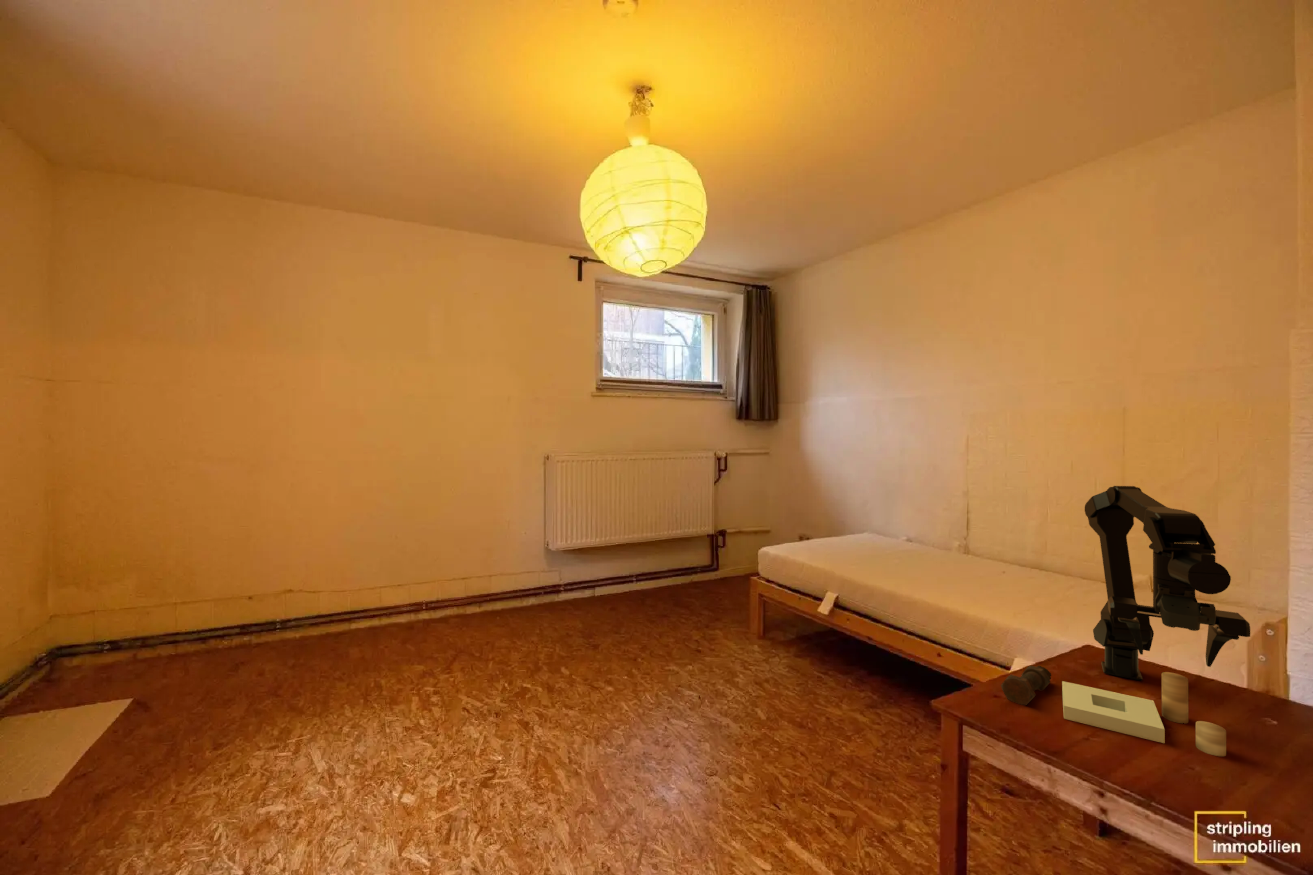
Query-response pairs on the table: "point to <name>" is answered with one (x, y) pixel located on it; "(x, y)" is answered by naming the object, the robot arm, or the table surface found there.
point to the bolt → (1026, 684)
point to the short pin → (1211, 738)
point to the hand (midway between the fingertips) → (1173, 659)
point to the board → (1112, 711)
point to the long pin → (1175, 697)
